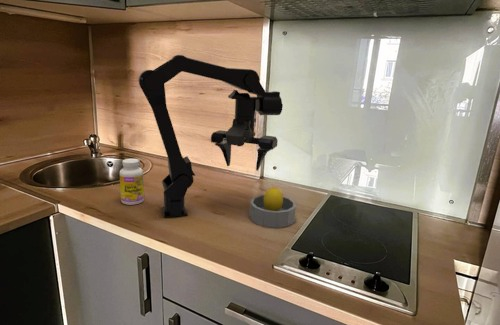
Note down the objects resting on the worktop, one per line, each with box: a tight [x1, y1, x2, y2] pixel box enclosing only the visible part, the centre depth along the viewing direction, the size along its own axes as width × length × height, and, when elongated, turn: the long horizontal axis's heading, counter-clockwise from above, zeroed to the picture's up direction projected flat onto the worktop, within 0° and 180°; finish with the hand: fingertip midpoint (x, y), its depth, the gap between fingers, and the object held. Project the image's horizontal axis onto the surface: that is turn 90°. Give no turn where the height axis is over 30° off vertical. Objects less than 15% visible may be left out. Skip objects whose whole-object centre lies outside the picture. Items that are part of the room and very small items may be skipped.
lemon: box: [263, 186, 284, 211], centre depth 90 cm, size 6×6×8 cm
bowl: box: [249, 194, 297, 229], centre depth 91 cm, size 13×13×4 cm
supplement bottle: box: [119, 158, 145, 206], centre depth 96 cm, size 7×7×13 cm
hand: (242, 168), depth 95 cm, fingers open, 9 cm apart
